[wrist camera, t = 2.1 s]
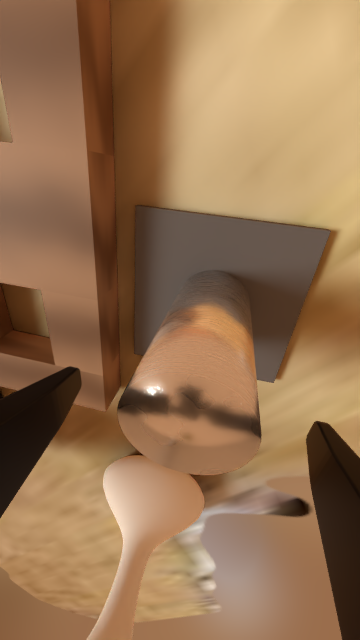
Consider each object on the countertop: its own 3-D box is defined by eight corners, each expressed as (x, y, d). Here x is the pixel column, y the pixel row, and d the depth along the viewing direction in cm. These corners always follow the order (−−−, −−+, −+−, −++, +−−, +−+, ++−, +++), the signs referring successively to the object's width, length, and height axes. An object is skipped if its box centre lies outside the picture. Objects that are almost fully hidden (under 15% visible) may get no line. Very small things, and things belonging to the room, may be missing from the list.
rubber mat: (272, 378, 19) (273, 383, 19) (136, 350, 21) (134, 353, 20) (327, 229, 14) (330, 230, 14) (138, 205, 15) (135, 205, 15)
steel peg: (240, 341, 18) (242, 488, 9) (175, 328, 18) (119, 455, 10) (257, 276, 15) (281, 393, 7) (181, 264, 16) (115, 358, 8)
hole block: (120, 386, 23) (105, 412, 21) (-13, 355, 25) (-42, 375, 22) (105, -164, 9) (55, -294, 7) (-189, -143, 11) (-316, -240, 9)
